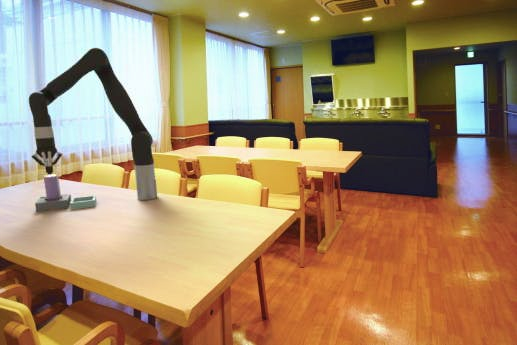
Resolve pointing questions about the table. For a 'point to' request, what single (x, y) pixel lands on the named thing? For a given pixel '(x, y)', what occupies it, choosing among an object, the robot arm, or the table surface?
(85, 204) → the teal square frame
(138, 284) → the table surface
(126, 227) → the table surface
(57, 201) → the port
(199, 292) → the table surface
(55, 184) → the beverage can
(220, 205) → the table surface
